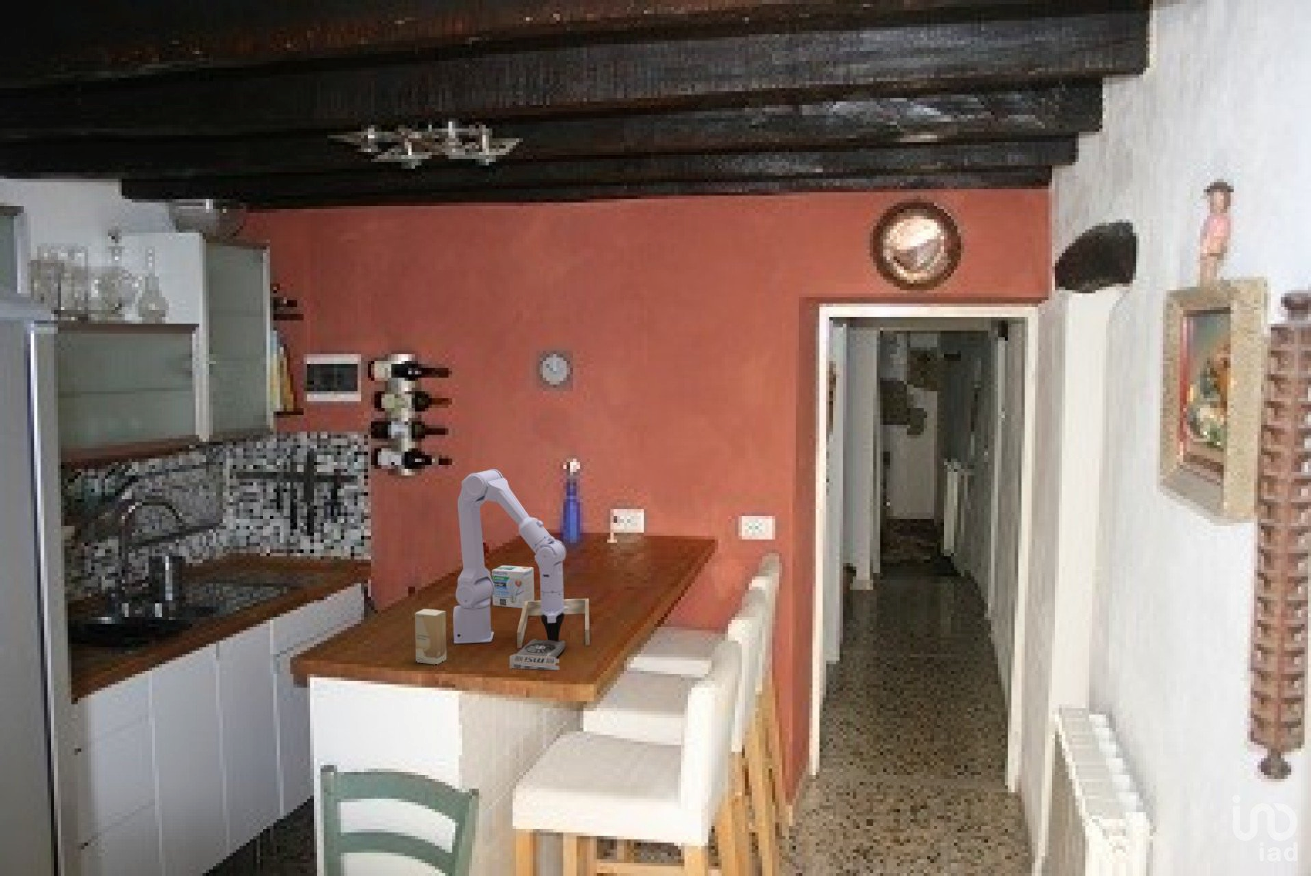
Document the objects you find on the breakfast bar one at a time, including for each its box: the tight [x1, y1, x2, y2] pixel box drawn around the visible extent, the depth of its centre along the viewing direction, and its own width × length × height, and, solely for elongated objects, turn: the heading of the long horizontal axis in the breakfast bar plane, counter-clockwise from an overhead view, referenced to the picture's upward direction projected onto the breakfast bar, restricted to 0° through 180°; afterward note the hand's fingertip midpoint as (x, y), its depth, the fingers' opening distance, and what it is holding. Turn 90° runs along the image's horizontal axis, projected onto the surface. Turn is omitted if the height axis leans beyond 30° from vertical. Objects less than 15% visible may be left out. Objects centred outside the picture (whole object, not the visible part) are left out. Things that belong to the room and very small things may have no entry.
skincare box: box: [414, 608, 447, 665], centre depth 235 cm, size 6×4×12 cm
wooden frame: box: [516, 598, 591, 649], centre depth 261 cm, size 18×31×4 cm, turn 4°
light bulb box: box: [491, 564, 535, 609], centre depth 287 cm, size 11×7×11 cm, turn 70°
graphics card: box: [509, 638, 566, 671], centre depth 236 cm, size 17×4×12 cm
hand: (553, 643), depth 245 cm, fingers closed
